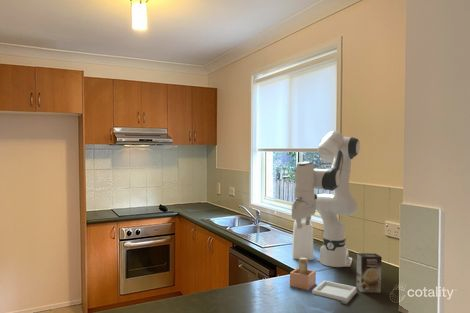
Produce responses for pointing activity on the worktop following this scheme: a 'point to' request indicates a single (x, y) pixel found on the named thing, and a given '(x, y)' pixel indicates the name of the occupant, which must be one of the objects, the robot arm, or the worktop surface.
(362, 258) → the coffee box
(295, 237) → the milk
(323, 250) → the robot arm
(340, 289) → the tray
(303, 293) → the worktop surface
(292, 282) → the orange open box
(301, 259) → the pin
